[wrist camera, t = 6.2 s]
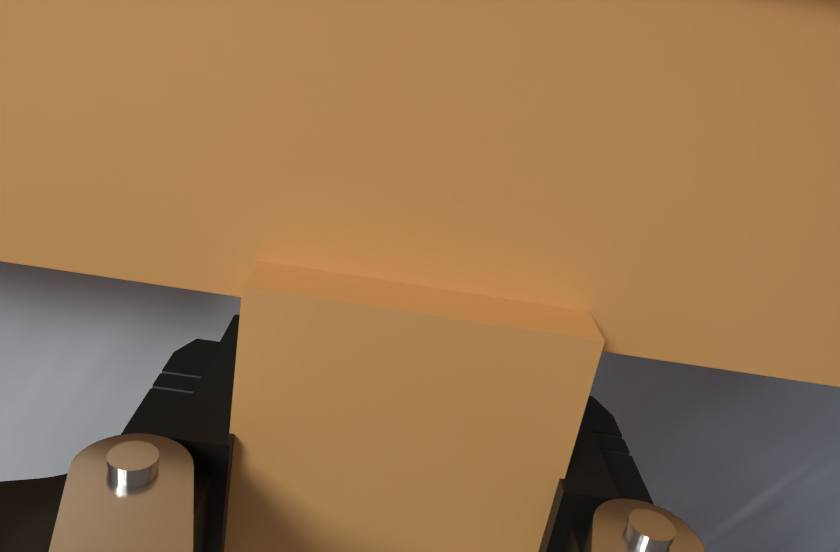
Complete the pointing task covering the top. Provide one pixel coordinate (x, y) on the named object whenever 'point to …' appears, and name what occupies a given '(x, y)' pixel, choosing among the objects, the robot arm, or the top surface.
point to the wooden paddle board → (435, 224)
